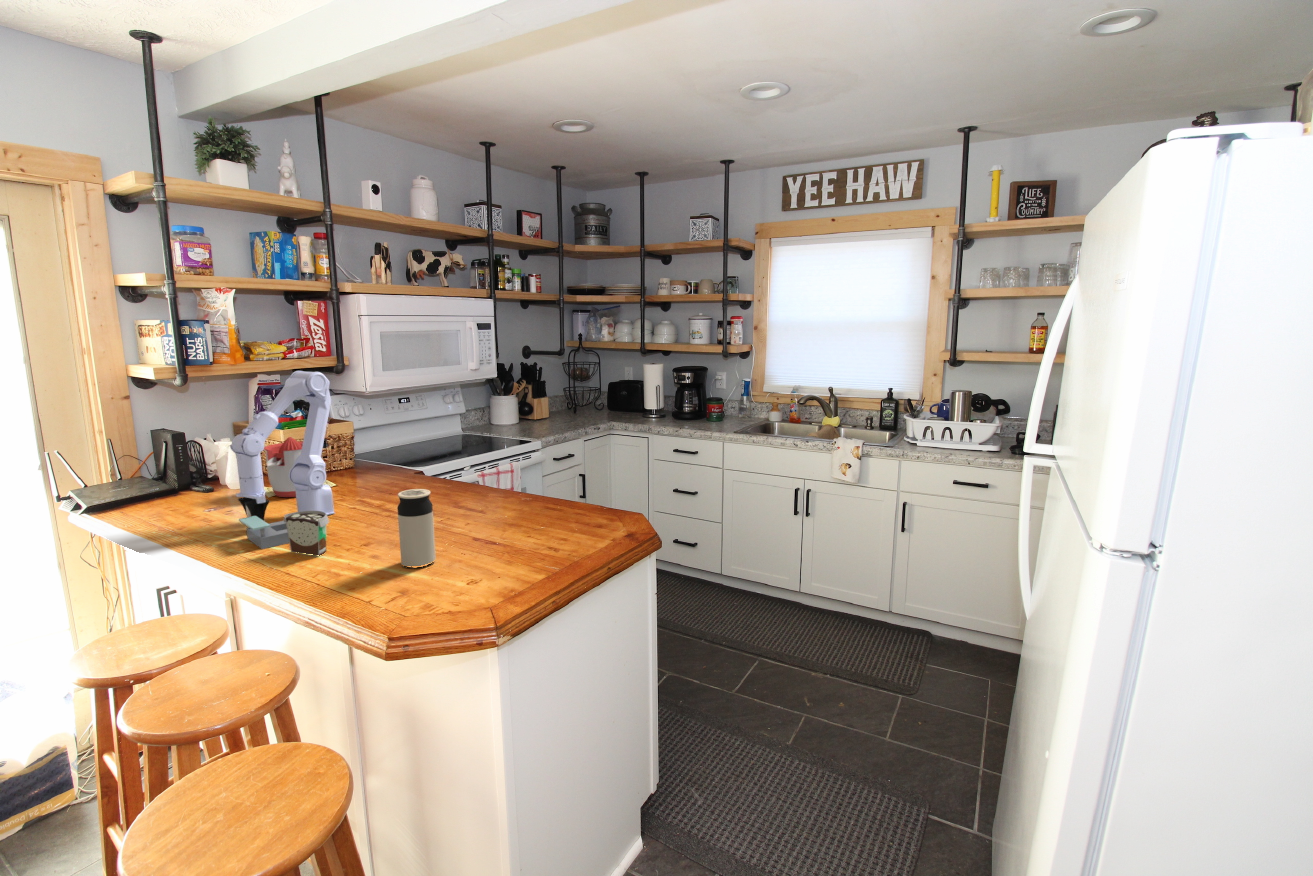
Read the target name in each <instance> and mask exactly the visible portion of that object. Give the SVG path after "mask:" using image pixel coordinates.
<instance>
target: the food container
mask: <svg viewBox="0 0 1313 876" xmlns="http://www.w3.org/2000/svg"><path fill="white" fill-rule="evenodd" d="M328 516H329V515H326V513H325V512H322V511H300V512H298V511H296V512H295V511H294V512H290V513H286V514H284V517H283V521H284V522H286V527H287V533H288V538H289V543H288V544H289V548H290V553H292V552H297V553H296V554H298V552H299V553H306V554H313V555H319V556H320V555H322V554H324V553H325V552H326V553H327V525H328V524H329V523H330V520H329V517H328ZM326 553H325V554H326ZM325 554H324V555H325ZM322 556H323V555H322ZM320 557H321V556H320Z"/></svg>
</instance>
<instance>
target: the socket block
mask: <svg viewBox="0 0 1313 876" xmlns="http://www.w3.org/2000/svg"><path fill="white" fill-rule="evenodd" d="M238 521H239V522H240V523H242V524H243V525H244V526H246V527H247V528H246V536H247V538H246V539H247V540H248V541H250V542H251V543H253V544H254V545H256V546H257V547H258V546H259V547H258V548H259V549H261V550H265V549H269V547H270V548H274V547H277V546H282V545H285V544H286V545H287V544H290V543H289V538H288V533H287V527H286V522H284V520H280V521H275V522H271V523H268V522H266V521H265V520H264V521H263V520H262V519H260V518H258V517H257V516H251V517H247V516H246V517H241V518H239V519H238ZM248 527H249V528H248Z"/></svg>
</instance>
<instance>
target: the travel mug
mask: <svg viewBox="0 0 1313 876" xmlns="http://www.w3.org/2000/svg"><path fill="white" fill-rule="evenodd" d="M430 496H431V491H430V490H429V489H425V488H414V489H406V490H403V491H400V492H398V493H397V497H398V499H399V503H398V505H397V520H398V521H397V523H398V533H399V534H398V535H399V546H400V547H399V549H400V563H401V566H402V565H404V566H411V567H412V566H421V565H425V564H428V563H431V562H433V561H434V560H435V559H436V558H437V557H436V545H435V527H434V526H435V525H434V512H433V510H434V509H433V503H432V501H431V500H430ZM404 566H403V567H404Z"/></svg>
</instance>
